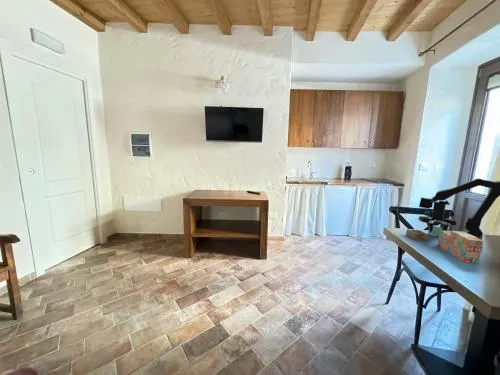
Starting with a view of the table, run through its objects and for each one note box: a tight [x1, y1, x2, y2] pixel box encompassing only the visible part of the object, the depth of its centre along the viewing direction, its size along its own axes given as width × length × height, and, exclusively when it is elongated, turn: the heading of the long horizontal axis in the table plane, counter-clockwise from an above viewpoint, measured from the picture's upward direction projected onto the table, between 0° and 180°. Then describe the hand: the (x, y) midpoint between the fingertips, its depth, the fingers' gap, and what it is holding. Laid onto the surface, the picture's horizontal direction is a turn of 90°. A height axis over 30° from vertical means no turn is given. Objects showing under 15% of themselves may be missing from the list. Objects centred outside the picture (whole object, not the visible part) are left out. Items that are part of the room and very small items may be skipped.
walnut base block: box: [405, 228, 429, 241], centre depth 138 cm, size 8×8×4 cm
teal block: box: [427, 224, 443, 237], centre depth 143 cm, size 5×5×6 cm
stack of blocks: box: [436, 230, 484, 265], centre depth 116 cm, size 21×6×12 cm, turn 168°
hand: (434, 233), depth 143 cm, fingers closed on teal block, 5 cm apart
